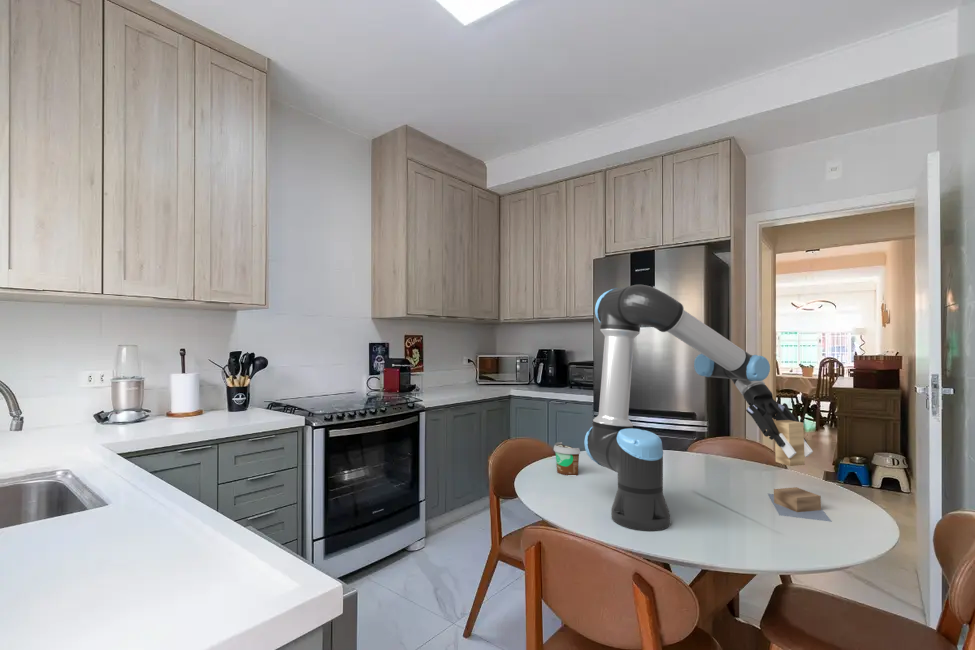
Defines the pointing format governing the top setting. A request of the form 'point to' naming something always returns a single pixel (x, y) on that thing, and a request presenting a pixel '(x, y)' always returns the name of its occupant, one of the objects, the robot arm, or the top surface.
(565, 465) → the food container
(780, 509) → the blueprint mat
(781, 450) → the pillar block
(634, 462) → the robot arm
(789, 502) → the base block
